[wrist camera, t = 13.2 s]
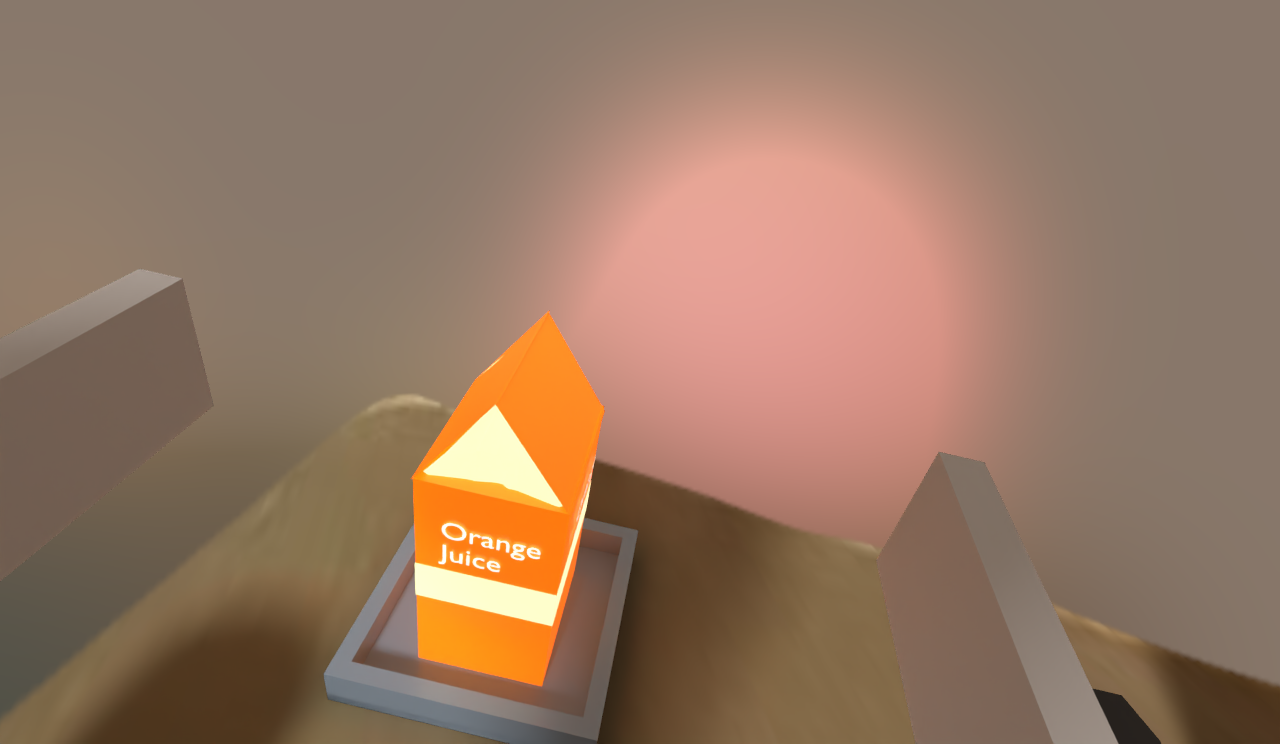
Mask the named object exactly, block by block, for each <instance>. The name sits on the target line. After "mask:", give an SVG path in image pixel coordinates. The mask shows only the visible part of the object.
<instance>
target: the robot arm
mask: <svg viewBox="0 0 1280 744" xmlns="http://www.w3.org/2000/svg"><path fill="white" fill-rule="evenodd" d="M211 407H213V401H212V397H211V393H210V389H209V385H208V381H207V377H206V373H205V369H204V364H203V360H202V356H201V352H200V348H199V344H198V340H197V336H196V332H195V328H194V324H193V320H192V316H191V312H190V308H189V304H188V300H187V295H186V292H185V287H184V283H183V279H182V278H177V277H173V276H169V275H164V274H160V273H155V272H151V271H147V270H142V269H138V270H136V271H134V272H132V273H130V274H128V275H126V276H125V277H122V278H120V279H118V280H116V281H114V282H112V283H110V284H108V285H106V286H104V287H102V288H100V289H98V290H96V291H94V292H92V293H90V294H88V295H86V296H84V297H82V298H80V299H78V300H76V301H74V302H72V303H70V304H68V305H66V306H64V307H62V308H60V309H58V310H56V311H54V312H52V313H50V314H48V315H46V316H44V317H42V318H40V319H38V320H36V321H34V322H32V323H30V324H28V325H26V326H24V327H22V328H20V329H18V330H16V331H14V332H12V333H10V334H8V335H6V336H4V337H2V338H0V581H1V580H2V579H4V578H5V577H6V576H7V575H8V574H10V573H11V572H12V571H13V570H15V569H16V568H17V567H18V566H19V565H21V564H22V563H23V562H24V561H25V560H27V559H28V558H29V557H30V556H32V555H33V554H34V553H35V552H36V551H38V550H39V549H40V548H41V547H43V546H44V545H45V544H46V543H47V542H48V541H50V540H51V539H52V538H53V537H55V536H56V535H57V534H58V533H59V532H61V531H62V530H63V529H64V528H66V527H67V526H68V525H69V524H70V523H72V522H73V521H74V520H75V519H77V518H78V517H79V516H80V515H81V514H83V513H84V512H85V511H86V510H87V509H89V508H90V507H91V506H92V505H94V504H95V503H96V502H97V501H98V500H100V499H101V498H102V497H103V496H105V495H106V494H107V493H108V492H109V491H110V490H112V489H113V488H114V487H115V486H117V485H118V484H119V483H120V482H122V481H123V480H124V479H125V478H126V477H128V476H129V475H130V474H131V473H132V472H134V471H135V470H136V469H137V468H139V467H140V466H141V465H142V464H143V463H145V462H146V461H147V460H148V459H149V458H151V457H152V456H153V455H154V454H156V453H157V452H158V451H159V450H160V449H162V447H164V446H165V445H166V444H168V443H169V442H170V441H171V440H172V439H174V438H175V437H176V436H177V435H179V434H180V433H181V432H182V431H183V430H185V429H186V428H187V427H188V426H190V425H191V424H192V423H193V422H194V421H196V420H197V419H198V418H199V417H200V416H202V415H203V414H204V413H205V412H207V411H208V410H209V409H210V408H211ZM876 561H877V566H878V571H879V575H880V580H881V585H882V589H883V594H884V599H885V603H886V608H887V612H888V617H889V622H890V626H891V631H892V636H893V640H894V645H895V650H896V654H897V659H898V663H899V668H900V673H901V677H902V682H903V687H904V691H905V696H906V701H907V705H908V710H909V714H910V719H911V724H912V728H913V733H914V738H915V742H916V744H1161V742H1160V740H1159V739H1158V738H1157V737H1156V736H1155V734H1154V733H1153V732H1152V731H1151V730H1150V728H1149V727H1148V726H1147V725H1146V724H1145V722H1144V721H1143V720H1142V719H1141V718H1140V717H1139V715H1138V714H1137V713H1136V712H1135V711H1134V709H1133V708H1132V707H1131V706H1130V705H1129V704H1128V702H1127V701H1126V700H1125V699H1124V698H1123V696H1122V695H1118V694H1113V693H1109V692H1105V691H1101V690H1096V689H1092V687H1091V685H1090V683H1089V681H1088V679H1087V677H1086V675H1085V672H1084V670H1083V668H1082V666H1081V664H1080V662H1079V660H1078V658H1077V656H1076V654H1075V651H1074V649H1073V647H1072V645H1071V643H1070V641H1069V639H1068V637H1067V635H1066V633H1065V630H1064V628H1063V626H1062V624H1061V622H1060V620H1059V618H1058V616H1057V614H1056V612H1055V609H1054V607H1053V605H1052V603H1051V601H1050V599H1049V597H1048V595H1047V593H1046V591H1045V588H1044V587H1043V584H1042V582H1041V580H1040V578H1039V576H1038V574H1037V572H1036V570H1035V568H1034V565H1033V563H1032V561H1031V559H1030V557H1029V555H1028V553H1027V551H1026V549H1025V546H1024V544H1023V542H1022V540H1021V538H1020V536H1019V534H1018V532H1017V530H1016V528H1015V526H1014V523H1013V521H1012V519H1011V517H1010V515H1009V513H1008V511H1007V509H1006V507H1005V505H1004V502H1003V500H1002V498H1001V496H1000V494H999V492H998V490H997V488H996V486H995V483H994V481H993V479H992V477H991V475H990V473H989V471H988V469H987V467H986V465H985V463H984V462H981V461H977V460H972V459H968V458H963V457H959V456H955V455H950V454H946V453H941V452H939V453H938V454H937V456H936V458H935V460H934V462H933V463H932V465H931V467H930V468H929V470H928V472H927V473H926V475H925V477H924V479H923V481H922V482H921V484H920V486H919V487H918V489H917V491H916V493H915V494H914V496H913V498H912V499H911V501H910V503H909V505H908V506H907V508H906V510H905V512H904V513H903V515H902V517H901V519H900V520H899V522H898V524H897V526H896V527H895V529H894V531H893V532H892V534H891V536H890V538H889V539H888V541H887V543H886V545H885V546H884V548H883V550H882V551H881V553H880V555H879V557H878V558H877V560H876Z"/></svg>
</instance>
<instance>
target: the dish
mask: <svg viewBox="0 0 1280 744" xmlns="http://www.w3.org/2000/svg"><path fill="white" fill-rule="evenodd" d="M637 535H638V530H634V529H630V528H626V527H621V526H617V525H613V524H609V523H604V522H600V521H596V520H592V519H587V518H584V521H583V526H582V532H581V537H580V543H579V548H578V554H577V559H576V565H575V570H574V574H573V577H572V581H571V584H570V588H569V592H568V595H567V599H566V602H565V606H564V609H563V613H562V617H561V620H560V624H559V627H558V631H557V634H556V638H555V641H554V645H553V649H552V652H551V656H550V659H549V663H548V666H547V670H546V674H545V677H544V681H543V684H542V686H538V685H534V684H529V683H525V682H521V681H517V680H512V679H508V678H504V677H500V676H495V675H491V674H487V673H483V672H479V671H474V670H470V669H466V668H462V667H457V666H453V665H449V664H445V663H440V662H436V661H432V660H428V659H423V658H419V654H418V622H417V595H416V591H415V562H416V558H415V527H414V524H413V526H412V528H411V529H410V531H409V533H408V534H407V536H406V538H405V539H404V541H403V543H402V544H401V546H400V548H399V549H398V551H397V553H396V554H395V556H394V558H393V559H392V561H391V563H390V564H389V566H388V568H387V569H386V571H385V573H384V574H383V576H382V578H381V579H380V581H379V583H378V584H377V586H376V588H375V589H374V591H373V593H372V594H371V596H370V598H369V599H368V601H367V603H366V604H365V606H364V608H363V609H362V611H361V613H360V614H359V616H358V618H357V619H356V621H355V623H354V624H353V626H352V628H351V629H350V631H349V633H348V634H347V636H346V638H345V639H344V641H343V643H342V644H341V646H340V648H339V649H338V651H337V653H336V654H335V656H334V658H333V659H332V661H331V663H330V664H329V666H328V668H327V669H326V671H325V673H324V679H325V685H326V691H327V696H328V699H329V700H333V701H337V702H341V703H345V704H349V705H354V706H358V707H362V708H366V709H370V710H374V711H378V712H382V713H386V714H390V715H395V716H399V717H403V718H407V719H411V720H415V721H419V722H423V723H427V724H431V725H436V726H440V727H444V728H448V729H452V730H456V731H460V732H464V733H468V734H472V735H477V736H481V737H485V738H489V739H493V740H497V741H501V742H505V743H509V744H597V740H598V735H599V730H600V725H601V720H602V715H603V709H604V704H605V699H606V694H607V689H608V684H609V679H610V673H611V668H612V663H613V658H614V653H615V648H616V643H617V638H618V632H619V627H620V622H621V617H622V612H623V607H624V602H625V596H626V591H627V586H628V581H629V576H630V571H631V566H632V560H633V555H634V550H635V545H636V540H637Z"/></svg>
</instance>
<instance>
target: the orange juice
mask: <svg viewBox="0 0 1280 744" xmlns="http://www.w3.org/2000/svg"><path fill="white" fill-rule="evenodd" d="M604 412H605V411H604V406H602V405H601V404H600V402H599V400H598V398H597V397H596V395H595V393H594V391H593V389H592V388H591V386H590V384H589V382H588V381H587V379H586V377H585V375H584V374H583V372H582V370H581V368H580V367H579V365H578V364H577V361H576V360H575V358H574V356H573V354H572V353H571V351H570V349H569V347H568V346H567V344H566V342H565V340H564V339H563V337H562V335H561V334H560V332H559V330H558V328H557V326H556V325H555V323H554V321H553V319H552V317H551V316H550V314H549V311H548V312H547V313H546V314H545V315H544V316H543V317H542V318H541V319H540V320H539V321H538V322H537V323H536V324H535V325H533V326H532V327H531V328H530V329H529V330H528V331H527V332H526V333H525V334H524V335H523V336H522V337H521V338H519V339H518V340H517V341H516V342H515V343H514V344H513V345H512V346H511V347H510V348H509V349H508V350H507V351H505V353H503V354H502V355H501V356H500V357H499V358H498V359H497V360H496V361H495V362H494V363H493V364H492V365H491V366H489V367H488V368H487V369H486V370H485V371H484V372H483V373H482V374H481V375H480V376H479V377H478V378H477V379H476V380H475V381H474V382H473V384H472V386H471V387H470V389H469V390H468V392H467V393H466V395H465V396H464V398H463V400H462V401H461V403H460V404H459V406H458V407H457V409H456V410H455V412H454V413H453V415H452V416H451V418H450V419H449V421H448V423H447V424H446V426H445V427H444V429H443V430H442V432H441V433H440V435H439V436H438V438H437V440H436V441H435V443H434V444H433V446H432V447H431V449H430V450H429V452H428V453H427V455H426V456H425V458H424V460H423V461H422V463H421V464H420V466H419V467H418V469H417V470H416V472H415V473H414V475H413V477H414V478H413V477H412V478H413V495H414V527H415V558H416V562H415V591H416V595H417V622H418V654H419V658H423V659H428V660H432V661H436V662H440V663H445V664H449V665H453V666H457V667H462V668H466V669H470V670H474V671H479V672H483V673H487V674H491V675H495V676H500V677H504V678H508V679H512V680H517V681H521V682H525V683H529V684H534V685H538V686H542V684H543V681H544V677H545V674H546V670H547V666H548V663H549V659H550V656H551V652H552V649H553V645H554V641H555V638H556V634H557V631H558V627H559V624H560V620H561V617H562V613H563V609H564V606H565V602H566V599H567V595H568V592H569V588H570V584H571V581H572V577H573V574H574V570H575V565H576V559H577V554H578V548H579V543H580V537H581V532H582V526H583V521H584V515H585V512H586V508H587V502H588V497H589V491H590V486H591V476H592V471H593V467H594V466H593V465H594V462H595V461H594V460H595V457H596V456H595V454H596V448H597V443H598V437H599V432H600V426H601V421H602V418H603V415H604ZM412 478H411V479H412Z"/></svg>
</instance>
